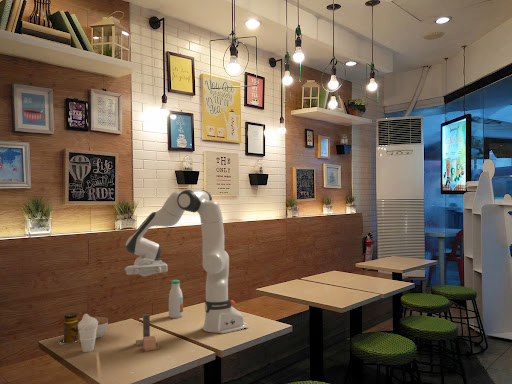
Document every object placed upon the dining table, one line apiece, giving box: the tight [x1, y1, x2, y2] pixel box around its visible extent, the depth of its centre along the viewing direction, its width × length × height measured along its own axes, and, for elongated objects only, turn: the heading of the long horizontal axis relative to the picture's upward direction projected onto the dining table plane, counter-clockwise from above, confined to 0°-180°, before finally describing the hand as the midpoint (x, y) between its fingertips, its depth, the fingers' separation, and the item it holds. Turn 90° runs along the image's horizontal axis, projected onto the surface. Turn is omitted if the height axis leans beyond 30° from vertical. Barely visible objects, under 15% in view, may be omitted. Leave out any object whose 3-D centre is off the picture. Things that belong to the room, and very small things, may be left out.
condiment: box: [57, 313, 81, 346], centre depth 195 cm, size 7×8×12 cm
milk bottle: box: [168, 279, 184, 319], centre depth 234 cm, size 8×8×20 cm
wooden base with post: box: [135, 313, 161, 353], centre depth 183 cm, size 17×8×13 cm, turn 23°
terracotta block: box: [142, 335, 157, 352], centre depth 178 cm, size 4×4×4 cm
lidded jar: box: [94, 315, 109, 339], centre depth 201 cm, size 11×11×9 cm
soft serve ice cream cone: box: [78, 313, 98, 353], centre depth 181 cm, size 8×8×16 cm
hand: (149, 271), depth 205 cm, fingers open, 8 cm apart
